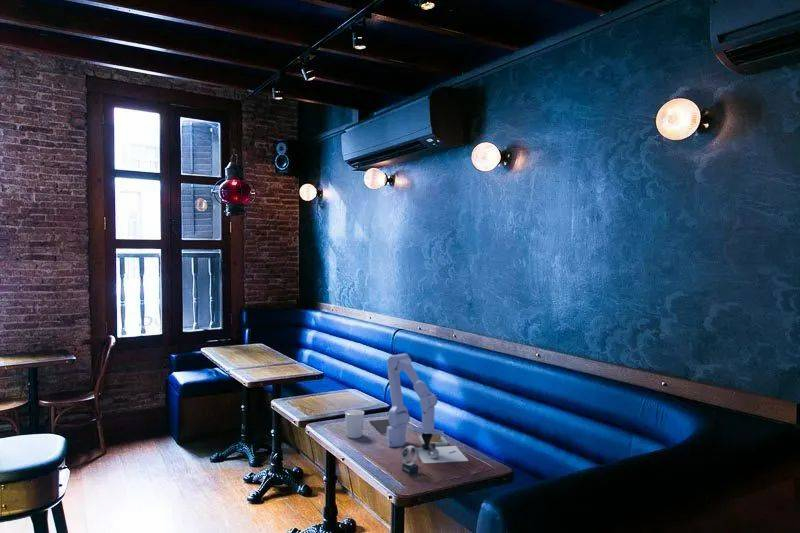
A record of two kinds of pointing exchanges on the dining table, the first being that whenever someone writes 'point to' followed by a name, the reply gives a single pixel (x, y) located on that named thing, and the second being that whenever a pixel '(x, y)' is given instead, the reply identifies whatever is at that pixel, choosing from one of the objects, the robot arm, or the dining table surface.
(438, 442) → the parts tray
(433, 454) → the crank
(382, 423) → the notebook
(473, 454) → the dining table surface
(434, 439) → the block
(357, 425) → the candle holder
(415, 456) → the watch
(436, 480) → the dining table surface
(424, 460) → the crank plate
